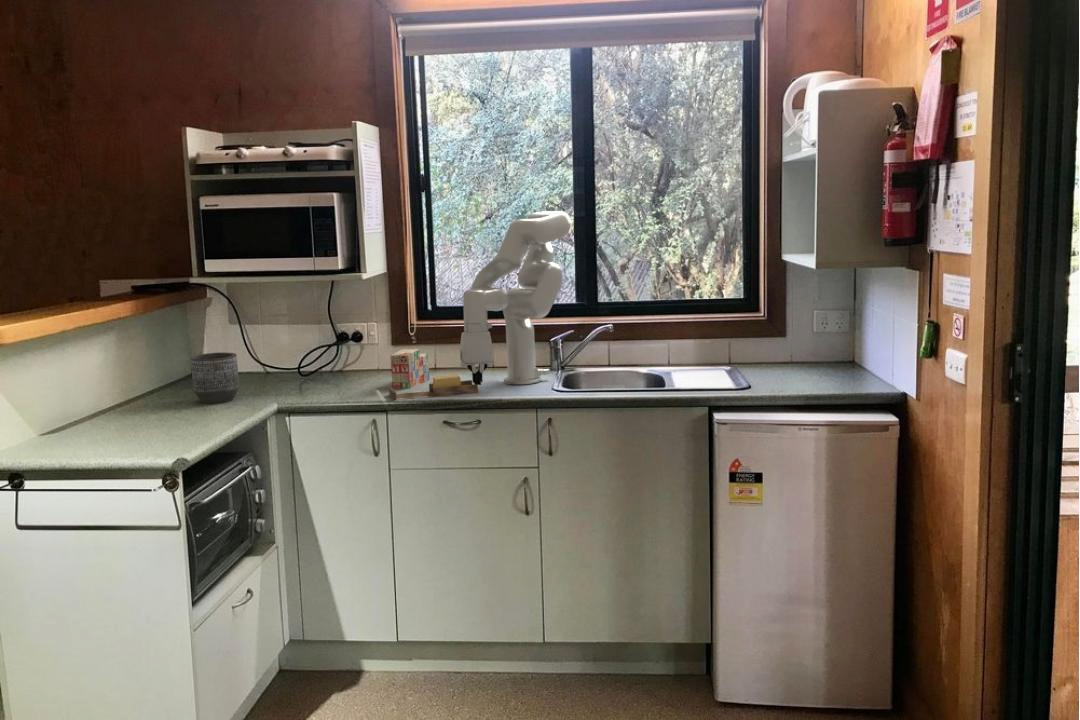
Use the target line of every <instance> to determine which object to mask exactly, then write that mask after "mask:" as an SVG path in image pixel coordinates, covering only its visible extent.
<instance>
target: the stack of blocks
mask: <svg viewBox="0 0 1080 720" xmlns="http://www.w3.org/2000/svg"><path fill="white" fill-rule="evenodd" d="M428 356H429V353H421V352H420V349H419V348H411V349H406V348H404V349H400V350H398V351H397V352H395V353H393V354H391V355H390V368H391V369H390V370H391V371H390V372H391V378H392V379H391V380H392V384H391V385H392V386H391V387H392V388H393V389H412V388H413V387H415V386H417V385H419V384H421V385H422V384H423V383H425V382H426V381H429V380H430V366H429V365H430V364H429V357H428Z"/></svg>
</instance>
